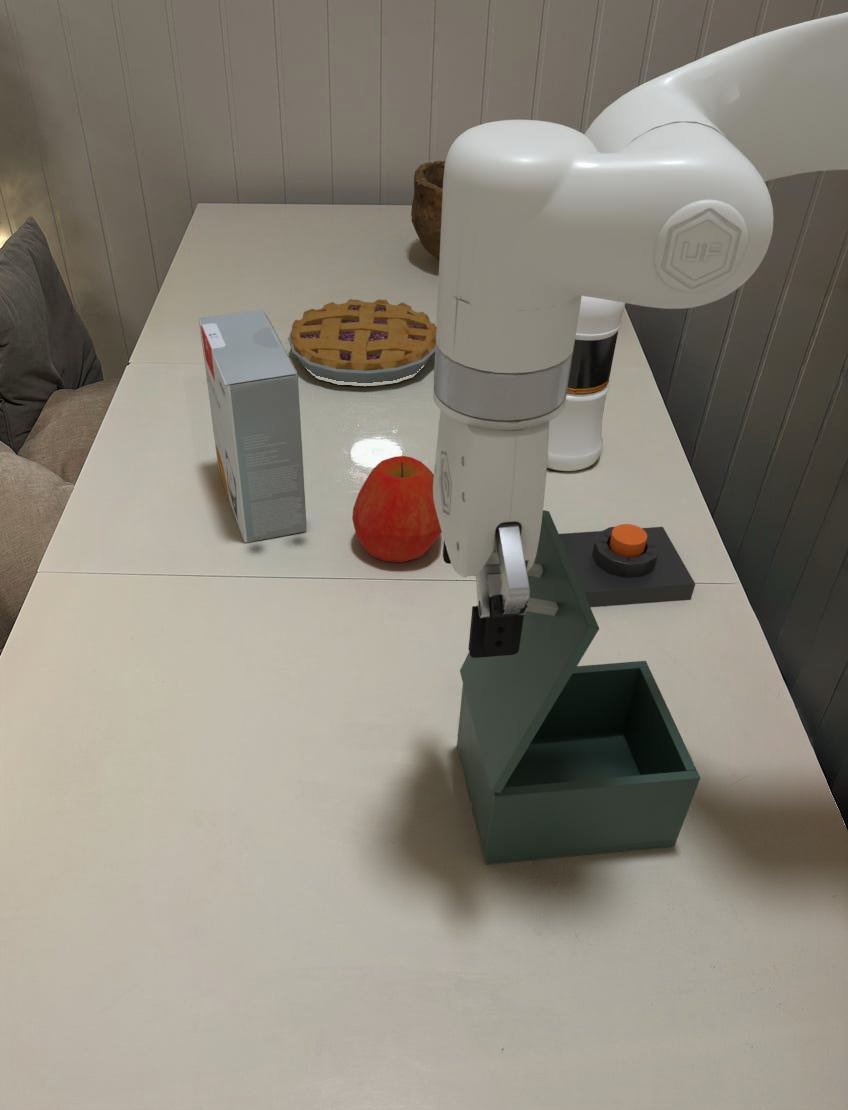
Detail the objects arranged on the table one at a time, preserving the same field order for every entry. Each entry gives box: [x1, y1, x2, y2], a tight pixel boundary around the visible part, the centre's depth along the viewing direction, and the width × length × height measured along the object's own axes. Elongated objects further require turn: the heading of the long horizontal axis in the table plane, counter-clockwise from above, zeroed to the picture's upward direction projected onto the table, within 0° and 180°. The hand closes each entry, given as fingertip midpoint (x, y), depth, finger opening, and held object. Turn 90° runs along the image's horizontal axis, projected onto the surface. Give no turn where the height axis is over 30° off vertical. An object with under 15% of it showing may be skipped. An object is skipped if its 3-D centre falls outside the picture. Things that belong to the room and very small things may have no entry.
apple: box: [351, 455, 442, 563], centre depth 102 cm, size 10×10×10 cm
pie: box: [287, 298, 437, 383], centre depth 137 cm, size 22×22×5 cm
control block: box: [559, 526, 696, 608], centre depth 101 cm, size 12×10×4 cm
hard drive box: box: [197, 309, 307, 543], centre depth 105 cm, size 16×8×20 cm, turn 17°
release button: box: [609, 523, 647, 557], centre depth 99 cm, size 4×4×2 cm
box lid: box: [459, 509, 600, 793], centre depth 68 cm, size 16×13×6 cm
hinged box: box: [456, 660, 701, 865], centre depth 78 cm, size 16×13×9 cm
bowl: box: [410, 160, 446, 261], centre depth 159 cm, size 19×19×15 cm
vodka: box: [547, 296, 626, 472], centre depth 109 cm, size 9×9×30 cm
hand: (478, 604), depth 65 cm, fingers open, 9 cm apart
